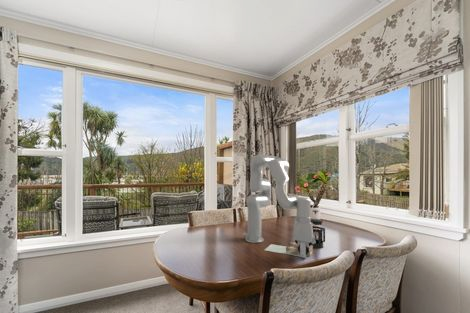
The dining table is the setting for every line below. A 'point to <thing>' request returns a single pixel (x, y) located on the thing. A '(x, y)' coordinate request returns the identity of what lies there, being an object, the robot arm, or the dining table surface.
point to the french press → (318, 222)
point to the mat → (278, 249)
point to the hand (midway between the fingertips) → (303, 253)
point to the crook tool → (303, 249)
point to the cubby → (295, 250)
